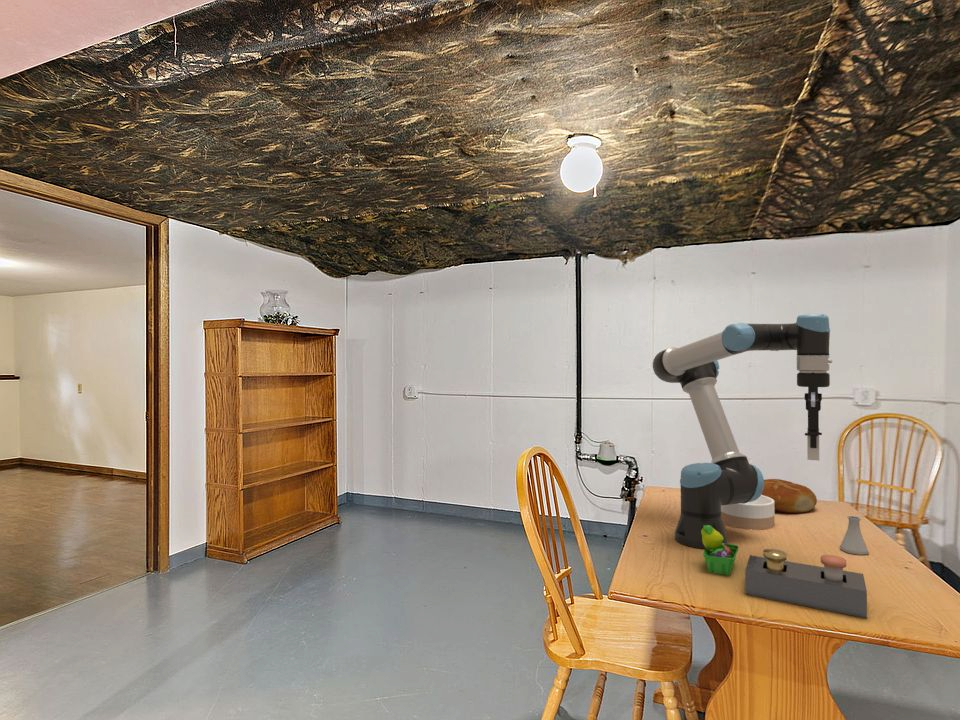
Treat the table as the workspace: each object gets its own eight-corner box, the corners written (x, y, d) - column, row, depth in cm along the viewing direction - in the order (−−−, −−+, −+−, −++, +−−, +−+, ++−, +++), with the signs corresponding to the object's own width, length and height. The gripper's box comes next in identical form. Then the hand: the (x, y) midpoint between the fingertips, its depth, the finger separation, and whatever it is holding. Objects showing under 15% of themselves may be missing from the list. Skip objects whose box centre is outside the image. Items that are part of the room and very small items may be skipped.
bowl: (776, 519, 191) (776, 495, 191) (772, 533, 177) (772, 507, 176) (723, 512, 200) (723, 489, 200) (715, 525, 186) (715, 500, 186)
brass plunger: (762, 585, 133) (762, 553, 133) (764, 578, 137) (764, 547, 137) (786, 589, 130) (786, 557, 130) (787, 582, 134) (787, 551, 134)
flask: (874, 556, 156) (874, 521, 156) (845, 554, 157) (845, 520, 157) (862, 547, 163) (861, 514, 163) (835, 546, 164) (834, 513, 164)
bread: (815, 520, 190) (815, 491, 190) (741, 510, 203) (741, 483, 203) (817, 504, 209) (817, 478, 209) (749, 496, 222) (749, 472, 222)
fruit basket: (733, 578, 141) (733, 535, 141) (697, 571, 146) (697, 529, 146) (739, 564, 151) (739, 523, 151) (705, 558, 156) (704, 518, 156)
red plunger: (820, 593, 126) (820, 560, 126) (820, 585, 131) (820, 553, 131) (846, 598, 124) (846, 564, 124) (845, 590, 128) (845, 557, 128)
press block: (745, 594, 132) (745, 569, 132) (750, 578, 141) (750, 555, 141) (866, 618, 120) (866, 591, 119) (863, 599, 129) (863, 573, 129)
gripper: (830, 372, 139) (830, 465, 140) (829, 371, 150) (829, 456, 151) (796, 372, 143) (796, 462, 143) (797, 371, 154) (797, 454, 155)
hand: (813, 459), depth 147 cm, fingers closed
